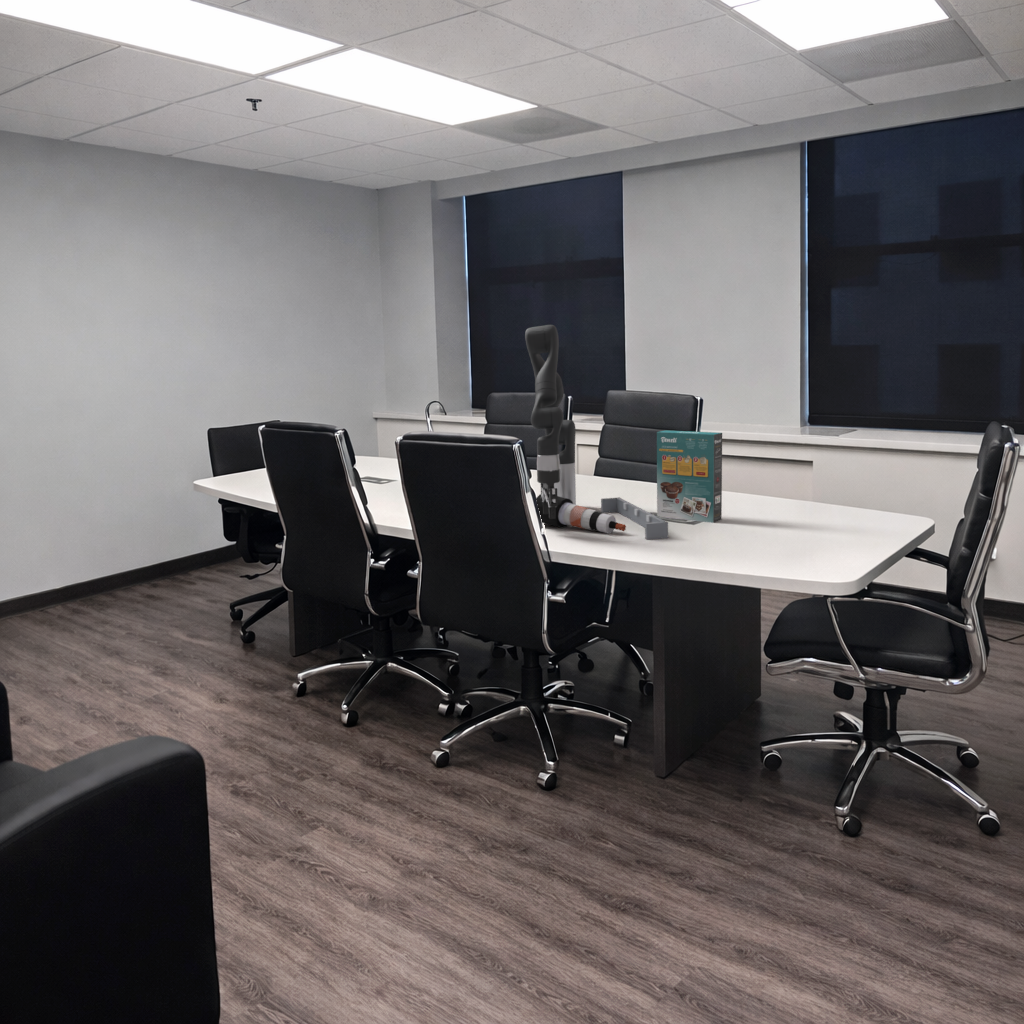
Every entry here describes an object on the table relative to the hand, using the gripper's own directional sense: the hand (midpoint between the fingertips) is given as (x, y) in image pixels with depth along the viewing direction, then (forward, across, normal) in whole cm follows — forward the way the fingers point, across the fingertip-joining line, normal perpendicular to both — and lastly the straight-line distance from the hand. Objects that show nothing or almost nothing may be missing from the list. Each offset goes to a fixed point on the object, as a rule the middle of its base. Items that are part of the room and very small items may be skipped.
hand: (549, 516), depth 307 cm
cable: (+6, 0, +11) cm, 12 cm away
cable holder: (+5, -2, +29) cm, 30 cm away
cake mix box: (+5, -5, +51) cm, 52 cm away
